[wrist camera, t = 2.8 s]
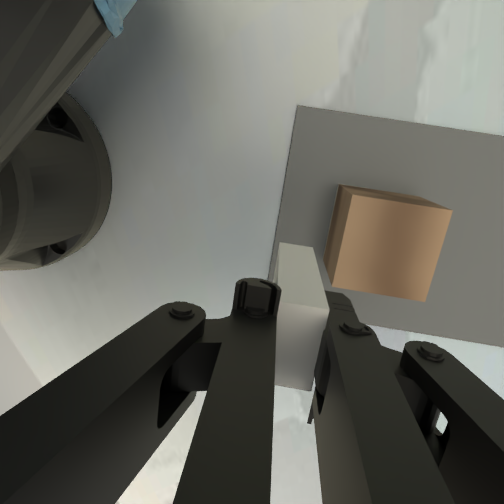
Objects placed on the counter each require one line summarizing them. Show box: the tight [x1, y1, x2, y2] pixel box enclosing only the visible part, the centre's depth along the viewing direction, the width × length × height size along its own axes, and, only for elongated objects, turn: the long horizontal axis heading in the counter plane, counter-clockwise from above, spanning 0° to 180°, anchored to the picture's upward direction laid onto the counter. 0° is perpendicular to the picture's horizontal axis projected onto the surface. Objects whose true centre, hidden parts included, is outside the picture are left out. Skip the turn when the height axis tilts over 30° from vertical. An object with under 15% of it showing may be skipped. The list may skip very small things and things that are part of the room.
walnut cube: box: [323, 184, 453, 302], centre depth 26 cm, size 6×6×6 cm
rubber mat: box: [268, 105, 504, 347], centre depth 29 cm, size 24×16×1 cm, turn 82°
